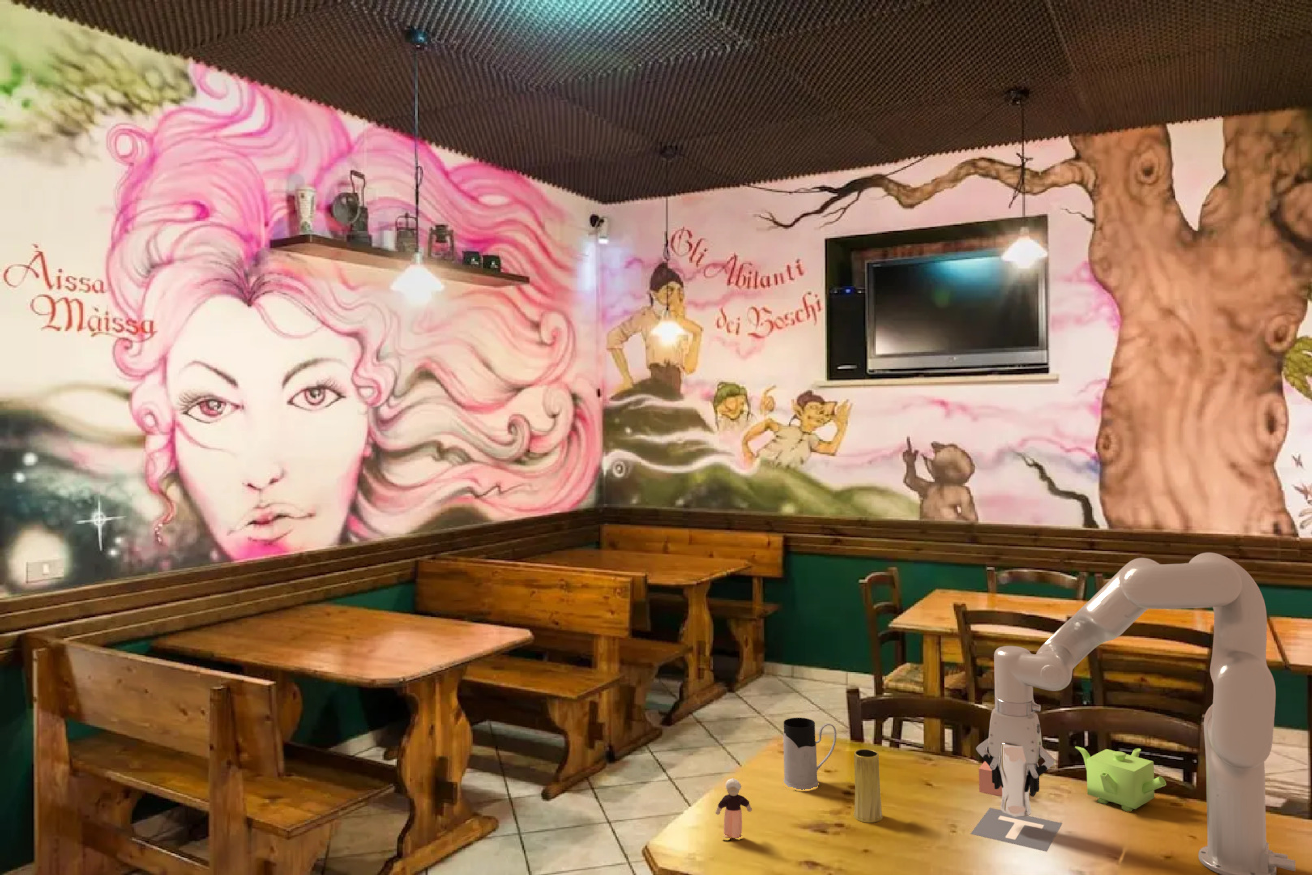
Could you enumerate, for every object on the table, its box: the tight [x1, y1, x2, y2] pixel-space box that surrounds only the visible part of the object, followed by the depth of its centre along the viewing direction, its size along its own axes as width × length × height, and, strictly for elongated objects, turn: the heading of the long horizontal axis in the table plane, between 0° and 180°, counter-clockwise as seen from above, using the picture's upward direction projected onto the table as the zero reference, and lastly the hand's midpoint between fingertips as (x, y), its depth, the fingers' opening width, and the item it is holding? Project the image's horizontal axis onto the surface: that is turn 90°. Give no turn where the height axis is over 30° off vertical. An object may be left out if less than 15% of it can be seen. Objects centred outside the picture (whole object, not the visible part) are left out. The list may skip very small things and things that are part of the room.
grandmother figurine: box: [714, 777, 753, 839], centre depth 192 cm, size 8×4×13 cm, turn 105°
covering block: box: [978, 760, 1002, 797], centre depth 212 cm, size 6×6×6 cm
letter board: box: [970, 807, 1063, 852], centre depth 192 cm, size 15×15×1 cm
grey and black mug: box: [782, 717, 837, 790], centre depth 220 cm, size 9×14×15 cm, turn 107°
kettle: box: [1074, 746, 1167, 812], centre depth 204 cm, size 15×14×11 cm
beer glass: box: [997, 742, 1032, 817], centre depth 192 cm, size 7×7×15 cm
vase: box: [853, 748, 883, 824], centre depth 200 cm, size 6×6×14 cm
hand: (1015, 789), depth 192 cm, fingers closed on beer glass, 6 cm apart
